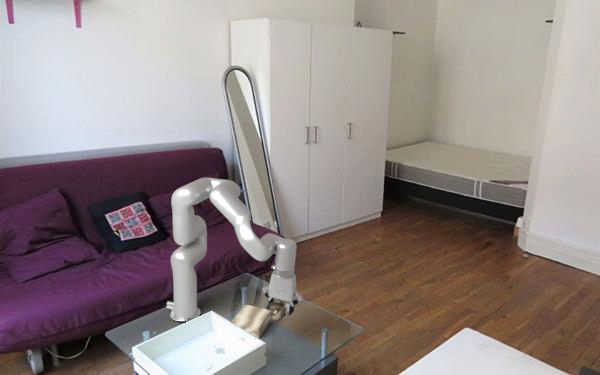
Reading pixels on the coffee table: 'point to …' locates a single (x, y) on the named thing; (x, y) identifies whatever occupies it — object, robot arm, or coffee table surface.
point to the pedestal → (252, 319)
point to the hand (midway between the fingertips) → (280, 310)
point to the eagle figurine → (278, 310)
